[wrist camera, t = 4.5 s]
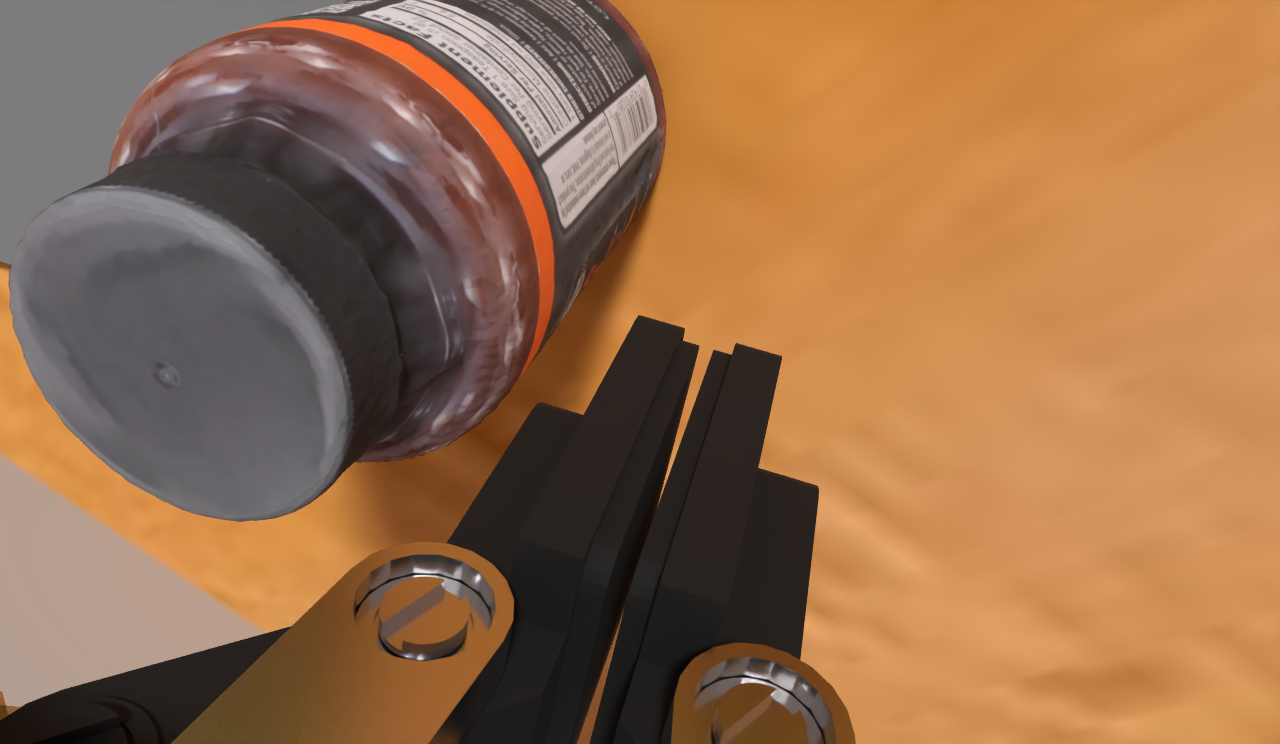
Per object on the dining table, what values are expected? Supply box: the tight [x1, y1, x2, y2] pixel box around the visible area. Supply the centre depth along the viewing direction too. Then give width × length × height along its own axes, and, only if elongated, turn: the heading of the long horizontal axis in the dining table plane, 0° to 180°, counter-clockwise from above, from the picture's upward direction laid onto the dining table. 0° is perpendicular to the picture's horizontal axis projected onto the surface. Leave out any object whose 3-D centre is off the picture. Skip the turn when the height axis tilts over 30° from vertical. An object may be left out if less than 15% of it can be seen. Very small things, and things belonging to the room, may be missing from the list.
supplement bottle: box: [9, 0, 666, 522], centre depth 14 cm, size 6×6×11 cm
